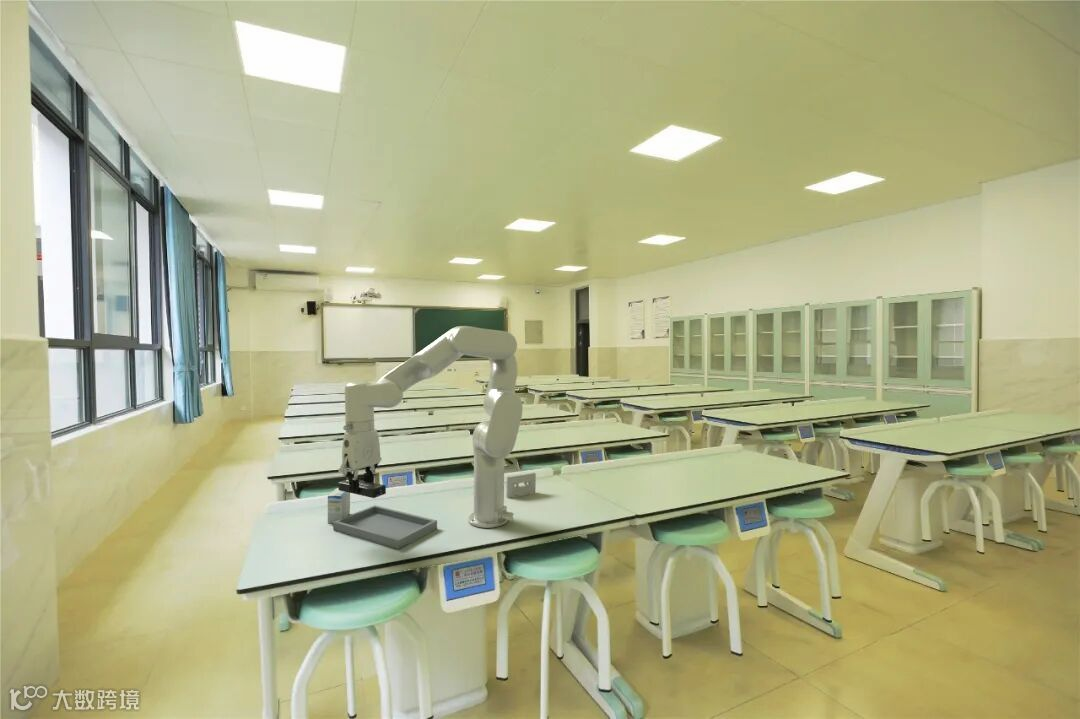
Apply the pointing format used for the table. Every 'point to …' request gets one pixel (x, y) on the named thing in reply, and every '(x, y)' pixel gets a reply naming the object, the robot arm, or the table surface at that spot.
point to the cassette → (515, 489)
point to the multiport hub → (365, 488)
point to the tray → (385, 526)
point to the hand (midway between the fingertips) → (361, 489)
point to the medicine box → (338, 505)
